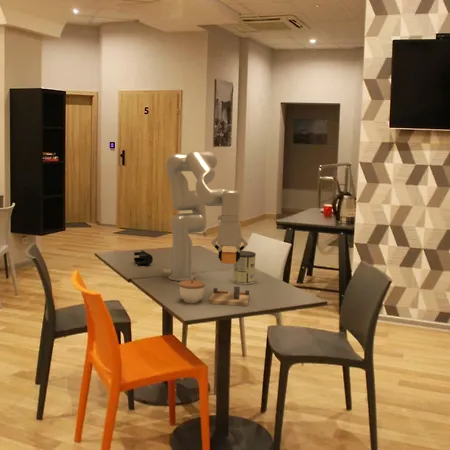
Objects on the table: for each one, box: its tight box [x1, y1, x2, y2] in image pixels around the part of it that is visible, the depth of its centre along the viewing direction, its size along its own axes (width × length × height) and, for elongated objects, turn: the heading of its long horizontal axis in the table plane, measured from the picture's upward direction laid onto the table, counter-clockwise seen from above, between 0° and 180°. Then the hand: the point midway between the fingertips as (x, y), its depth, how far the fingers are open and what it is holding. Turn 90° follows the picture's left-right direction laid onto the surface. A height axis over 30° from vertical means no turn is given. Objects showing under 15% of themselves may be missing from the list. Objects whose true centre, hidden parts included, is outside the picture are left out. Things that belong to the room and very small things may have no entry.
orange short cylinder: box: [220, 251, 237, 265], centre depth 273 cm, size 6×6×4 cm
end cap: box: [133, 249, 154, 267], centre depth 335 cm, size 10×7×7 cm
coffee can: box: [233, 250, 256, 285], centre depth 306 cm, size 10×10×14 cm
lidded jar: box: [178, 279, 206, 304], centre depth 269 cm, size 11×11×9 cm
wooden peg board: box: [208, 286, 251, 307], centre depth 272 cm, size 16×14×6 cm
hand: (229, 260), depth 274 cm, fingers closed on orange short cylinder, 6 cm apart
